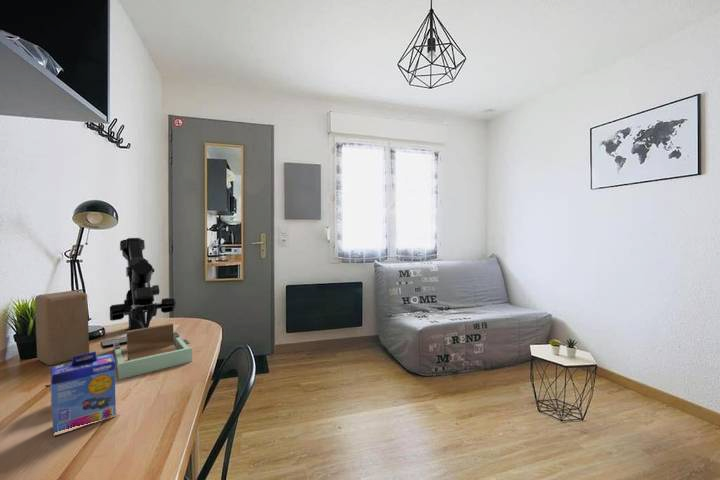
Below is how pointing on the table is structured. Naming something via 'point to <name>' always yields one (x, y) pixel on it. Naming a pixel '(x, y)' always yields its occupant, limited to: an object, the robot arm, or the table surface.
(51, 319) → the wooden block
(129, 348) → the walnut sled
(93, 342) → the table surface
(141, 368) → the pale green tray
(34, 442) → the table surface
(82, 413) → the ink cartridge box
